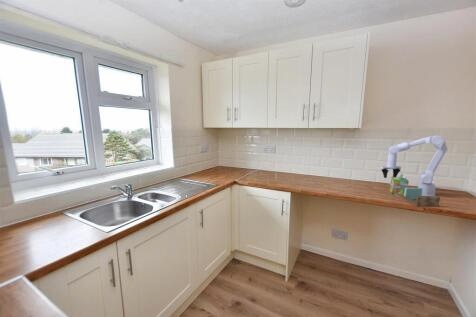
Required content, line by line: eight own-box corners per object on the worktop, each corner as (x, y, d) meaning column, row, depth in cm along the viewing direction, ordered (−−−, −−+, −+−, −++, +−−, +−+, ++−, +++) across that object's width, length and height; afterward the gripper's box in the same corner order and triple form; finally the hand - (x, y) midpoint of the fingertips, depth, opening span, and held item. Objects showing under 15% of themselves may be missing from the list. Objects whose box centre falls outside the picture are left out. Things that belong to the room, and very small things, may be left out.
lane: (413, 195, 150) (414, 188, 149) (438, 206, 131) (440, 197, 130) (394, 195, 150) (395, 188, 149) (416, 206, 131) (418, 197, 130)
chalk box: (389, 190, 162) (391, 172, 160) (403, 192, 158) (406, 173, 156) (391, 194, 154) (394, 175, 152) (406, 196, 150) (409, 176, 147)
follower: (418, 198, 144) (420, 187, 143) (420, 199, 142) (422, 188, 141) (403, 198, 144) (404, 187, 143) (405, 199, 142) (406, 188, 141)
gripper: (397, 160, 166) (394, 176, 168) (379, 160, 166) (377, 176, 168) (404, 161, 159) (401, 178, 161) (385, 161, 159) (383, 178, 161)
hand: (389, 177), depth 164 cm, fingers open, 7 cm apart
